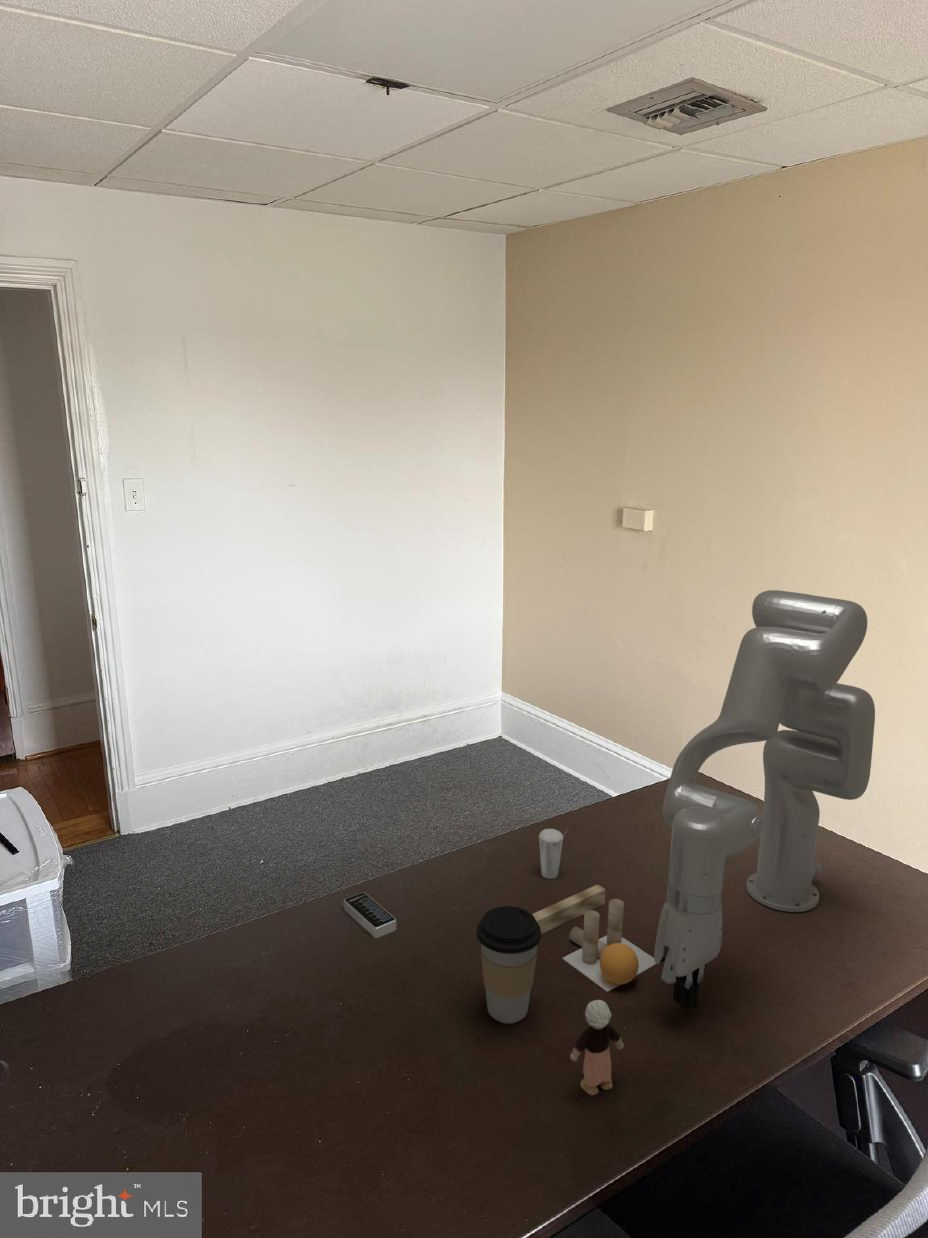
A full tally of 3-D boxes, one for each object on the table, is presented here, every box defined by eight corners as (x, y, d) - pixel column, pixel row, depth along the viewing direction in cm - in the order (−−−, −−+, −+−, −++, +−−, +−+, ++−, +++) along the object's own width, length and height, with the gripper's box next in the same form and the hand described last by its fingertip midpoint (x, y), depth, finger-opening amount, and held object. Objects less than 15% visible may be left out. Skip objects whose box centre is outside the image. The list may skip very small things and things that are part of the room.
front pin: (618, 959, 139) (579, 935, 145) (617, 948, 138) (578, 924, 145) (608, 967, 138) (569, 943, 144) (607, 956, 137) (568, 931, 143)
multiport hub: (375, 941, 144) (375, 929, 144) (342, 911, 153) (342, 899, 152) (397, 931, 147) (397, 919, 146) (364, 902, 155) (364, 891, 155)
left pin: (589, 954, 140) (591, 908, 138) (600, 962, 139) (602, 915, 137) (579, 960, 139) (581, 913, 137) (589, 967, 137) (591, 921, 135)
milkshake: (564, 882, 161) (566, 834, 159) (536, 879, 162) (538, 831, 160) (566, 870, 166) (568, 823, 163) (539, 867, 167) (540, 820, 164)
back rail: (596, 899, 156) (597, 884, 155) (604, 904, 155) (605, 889, 154) (503, 942, 143) (503, 927, 143) (511, 948, 142) (511, 932, 141)
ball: (616, 928, 135) (648, 951, 132) (611, 951, 139) (643, 975, 135) (594, 952, 132) (626, 976, 128) (589, 975, 135) (621, 1000, 132)
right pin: (613, 942, 144) (616, 897, 142) (624, 949, 142) (626, 904, 140) (603, 947, 142) (605, 902, 140) (613, 954, 140) (616, 909, 138)
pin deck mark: (613, 932, 146) (613, 931, 146) (659, 962, 139) (659, 961, 139) (562, 959, 139) (562, 958, 139) (607, 992, 132) (607, 991, 132)
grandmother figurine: (605, 1065, 117) (610, 984, 114) (625, 1083, 114) (630, 1001, 111) (561, 1088, 113) (565, 1005, 110) (580, 1108, 110) (584, 1023, 107)
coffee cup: (545, 997, 130) (548, 910, 127) (529, 1039, 122) (532, 947, 118) (486, 983, 133) (487, 898, 130) (466, 1024, 125) (467, 933, 121)
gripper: (706, 866, 130) (697, 971, 134) (638, 899, 121) (631, 1010, 126) (748, 888, 124) (737, 997, 128) (681, 924, 115) (671, 1040, 120)
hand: (685, 1003), depth 127 cm, fingers closed
